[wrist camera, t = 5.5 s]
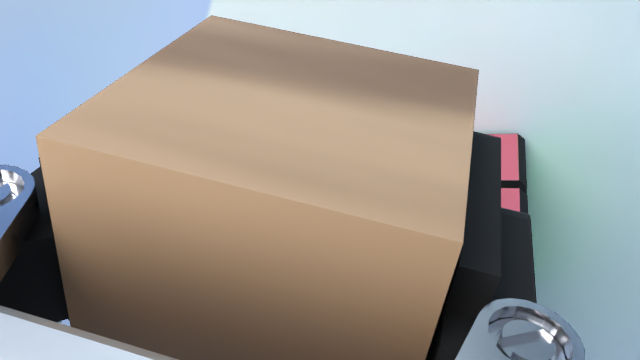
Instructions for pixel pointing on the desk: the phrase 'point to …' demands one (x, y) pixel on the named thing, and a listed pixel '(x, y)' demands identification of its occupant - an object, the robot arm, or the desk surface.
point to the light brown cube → (264, 198)
